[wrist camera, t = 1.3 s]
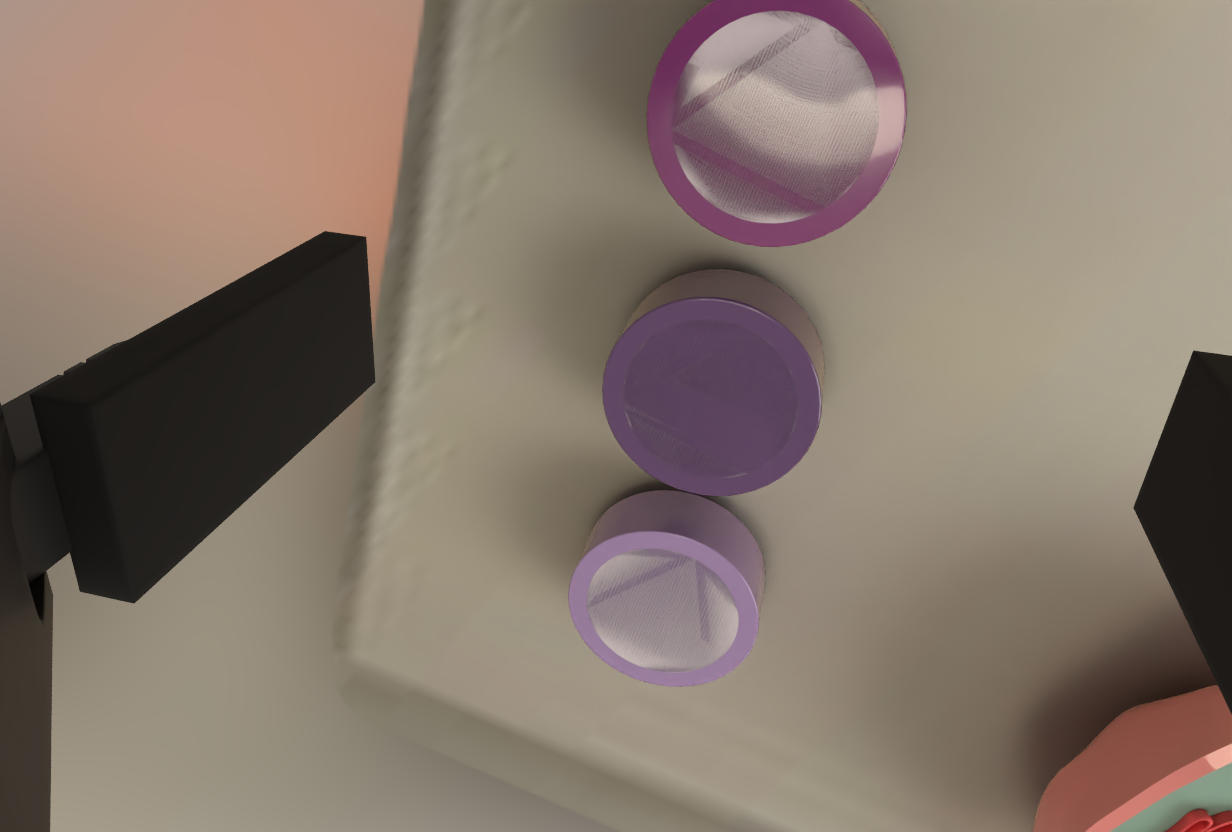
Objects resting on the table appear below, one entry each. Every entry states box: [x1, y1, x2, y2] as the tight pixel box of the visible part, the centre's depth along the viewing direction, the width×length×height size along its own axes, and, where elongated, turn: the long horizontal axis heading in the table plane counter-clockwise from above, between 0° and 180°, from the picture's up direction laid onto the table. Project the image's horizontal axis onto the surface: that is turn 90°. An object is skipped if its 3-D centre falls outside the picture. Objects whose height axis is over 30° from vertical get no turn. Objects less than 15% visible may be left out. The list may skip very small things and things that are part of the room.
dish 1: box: [568, 490, 765, 687], centre depth 41 cm, size 8×8×4 cm
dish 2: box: [646, 0, 907, 247], centre depth 31 cm, size 8×8×4 cm
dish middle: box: [602, 269, 825, 496], centre depth 36 cm, size 8×8×4 cm
